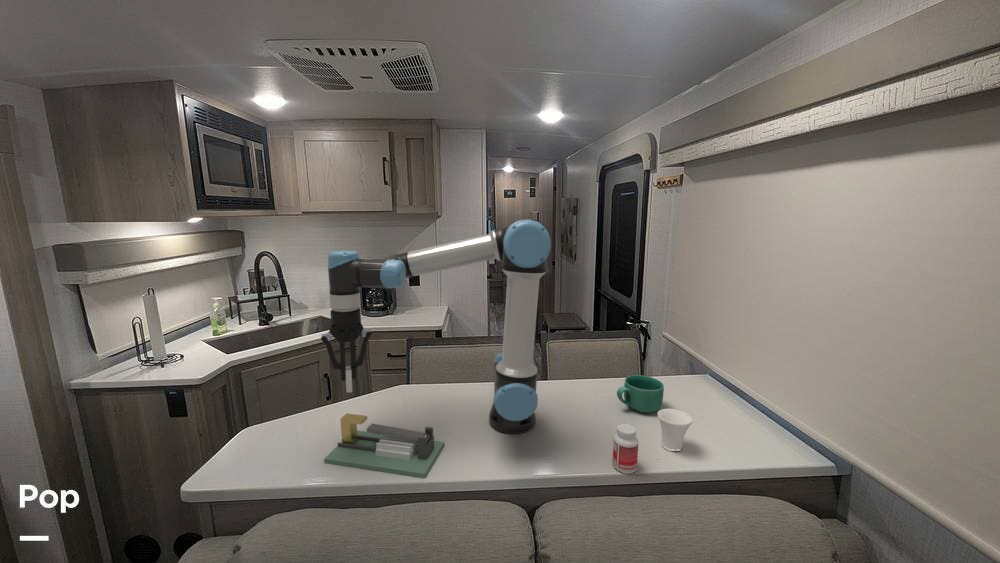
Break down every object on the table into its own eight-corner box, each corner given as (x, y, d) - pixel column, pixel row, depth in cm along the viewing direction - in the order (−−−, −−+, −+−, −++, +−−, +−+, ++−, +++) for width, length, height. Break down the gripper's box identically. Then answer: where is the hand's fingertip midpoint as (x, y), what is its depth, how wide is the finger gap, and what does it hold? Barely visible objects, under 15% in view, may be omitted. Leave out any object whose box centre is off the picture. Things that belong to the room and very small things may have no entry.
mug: (647, 397, 135) (649, 373, 134) (670, 414, 123) (672, 388, 122) (606, 402, 132) (607, 377, 131) (625, 420, 120) (627, 393, 118)
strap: (431, 438, 102) (431, 432, 101) (426, 444, 99) (426, 438, 98) (372, 427, 105) (372, 421, 105) (366, 433, 102) (366, 427, 102)
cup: (647, 442, 108) (650, 411, 106) (671, 435, 111) (673, 405, 110) (672, 460, 100) (675, 426, 98) (696, 452, 103) (699, 419, 102)
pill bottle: (641, 469, 96) (644, 430, 95) (626, 478, 93) (629, 438, 91) (622, 456, 101) (624, 419, 100) (607, 464, 98) (609, 426, 96)
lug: (368, 440, 106) (367, 415, 105) (362, 446, 103) (361, 421, 102) (348, 438, 108) (346, 413, 106) (342, 444, 105) (340, 418, 103)
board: (444, 445, 106) (443, 422, 105) (424, 478, 93) (424, 451, 92) (354, 433, 112) (353, 411, 111) (324, 462, 99) (322, 437, 98)
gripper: (369, 303, 105) (372, 381, 109) (319, 307, 100) (323, 388, 103) (372, 309, 98) (375, 392, 102) (318, 313, 93) (323, 400, 97)
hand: (349, 390), depth 103 cm, fingers closed
